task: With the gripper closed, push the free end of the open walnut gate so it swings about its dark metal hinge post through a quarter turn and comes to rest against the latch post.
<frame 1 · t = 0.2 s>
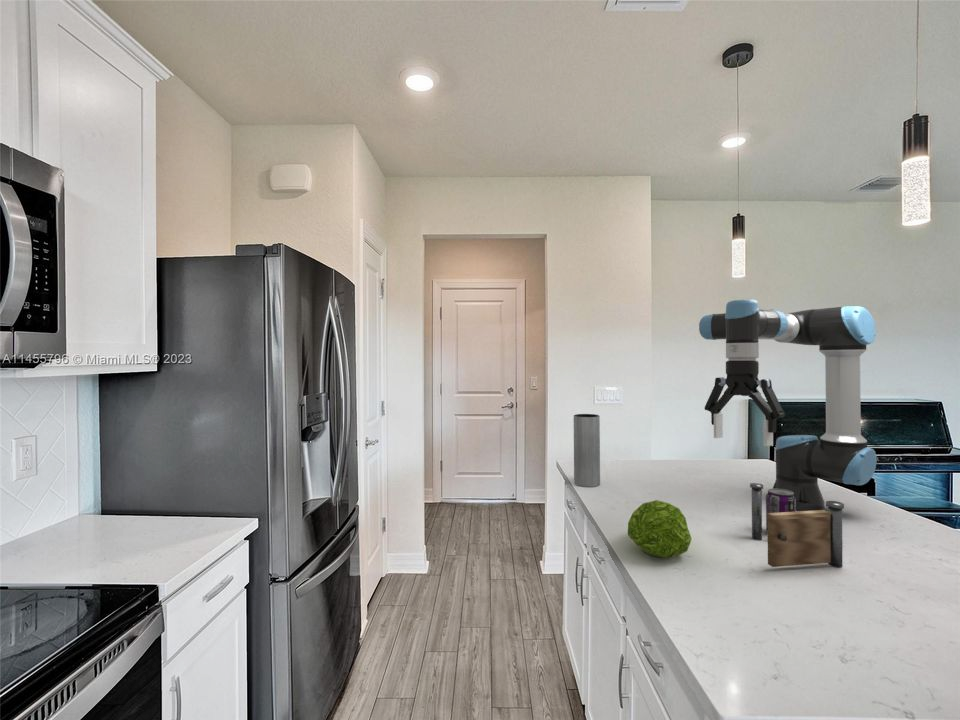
hand: (742, 441, 125), 28 cm above the worktop, fingers open, 13 cm apart
vase: (587, 484, 190), on the worktop
latch post: (756, 538, 132), on the worktop
gate: (800, 538, 113), point 7 cm above the worktop, hinge at 70.0°
keeper: (775, 541, 130), on the worktop
lettuce: (661, 547, 127), on the worktop
beverage can: (780, 534, 135), on the worktop
hinge post: (835, 564, 115), on the worktop
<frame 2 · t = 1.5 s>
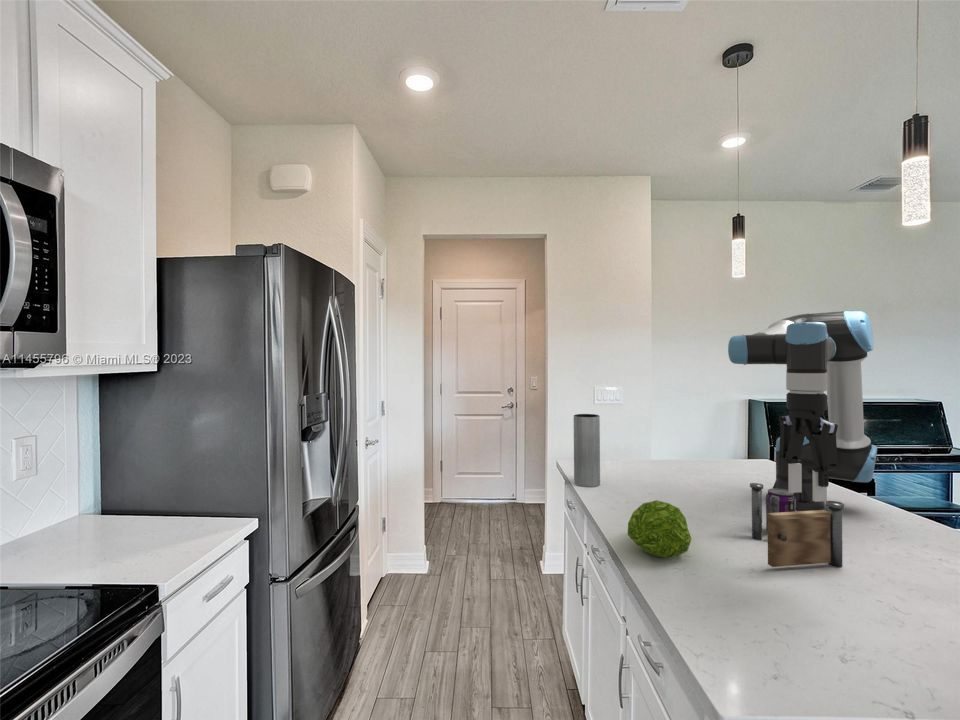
hand: (807, 496, 107), 19 cm above the worktop, fingers open, 6 cm apart
nothing on the worktop moved.
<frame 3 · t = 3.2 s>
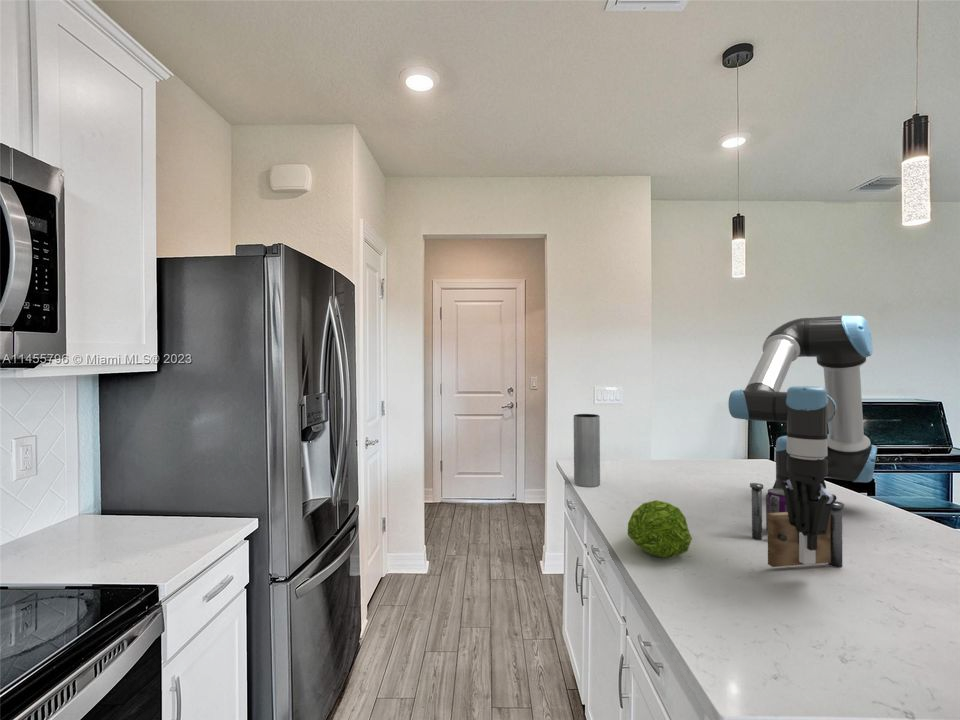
hand: (807, 562, 107), 4 cm above the worktop, fingers closed
nothing on the worktop moved.
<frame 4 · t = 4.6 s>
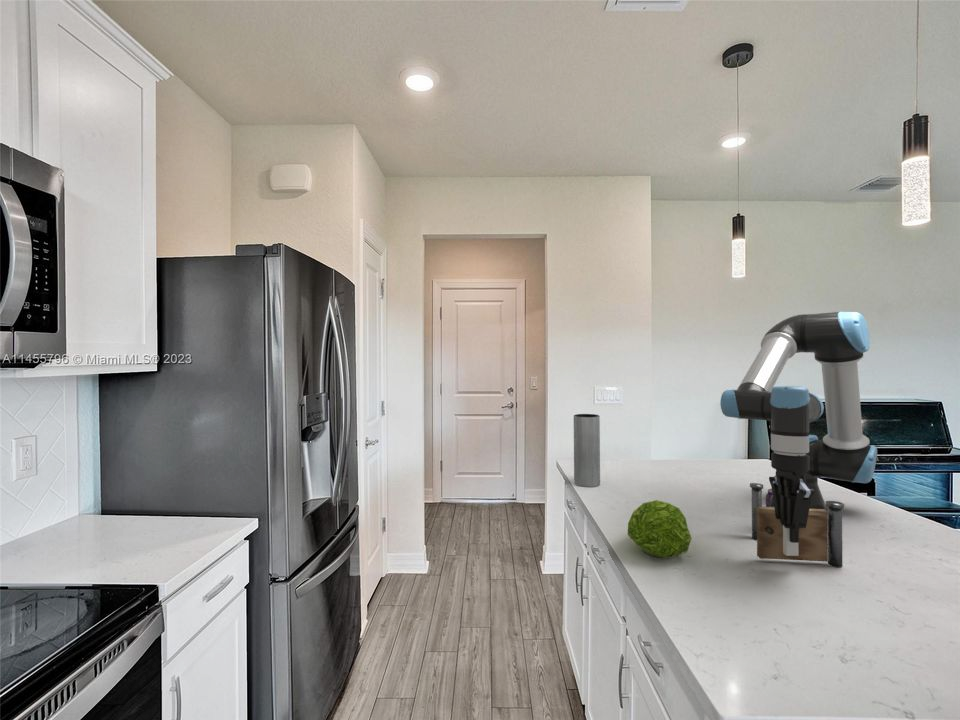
hand: (790, 554, 112), 4 cm above the worktop, fingers closed
gate: (792, 534, 116), point 7 cm above the worktop, hinge at 53.5°, touching hand
everything else where it was.
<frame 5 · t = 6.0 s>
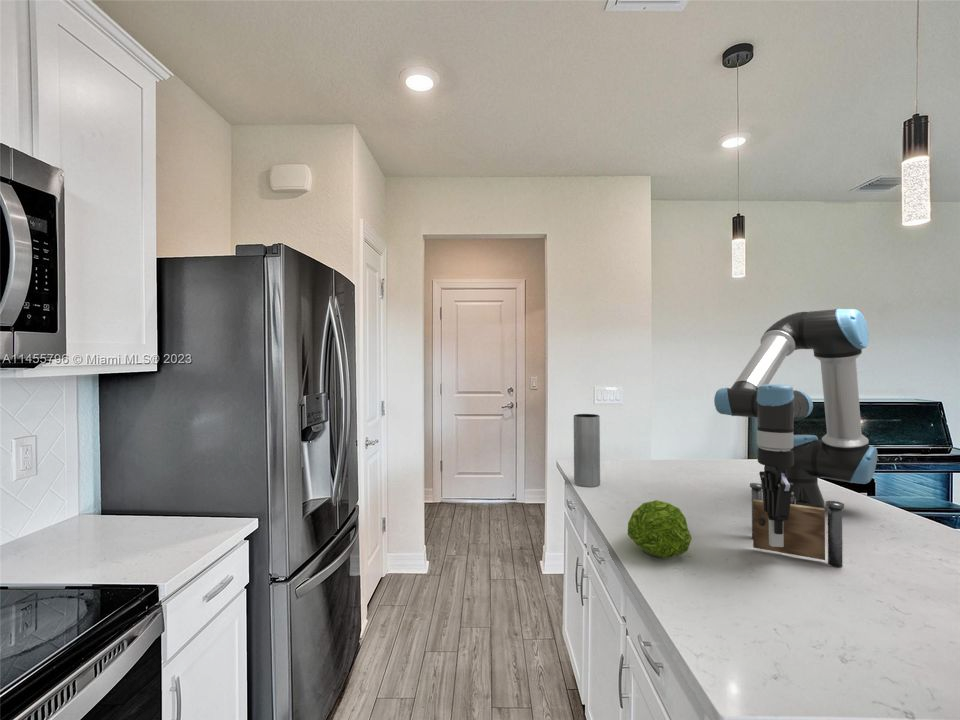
hand: (776, 545, 117), 4 cm above the worktop, fingers closed
gate: (787, 529, 120), point 7 cm above the worktop, hinge at 30.5°, touching hand
everything else where it was.
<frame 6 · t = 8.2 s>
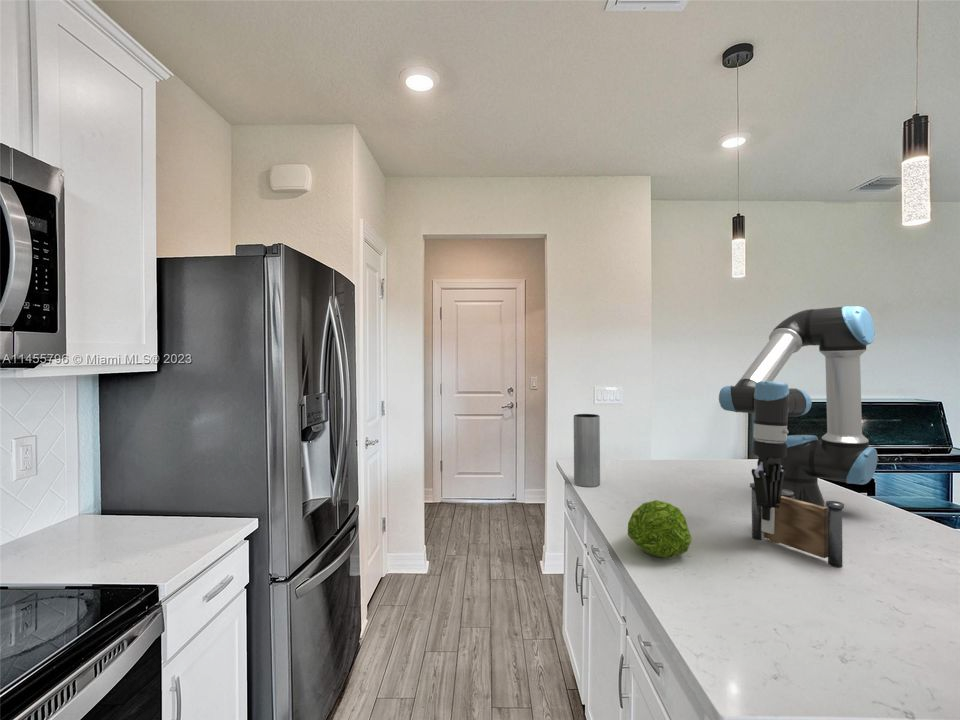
hand: (767, 532, 125), 4 cm above the worktop, fingers closed
gate: (792, 523, 123), point 7 cm above the worktop, hinge at -1.8°, touching hand
everything else where it was.
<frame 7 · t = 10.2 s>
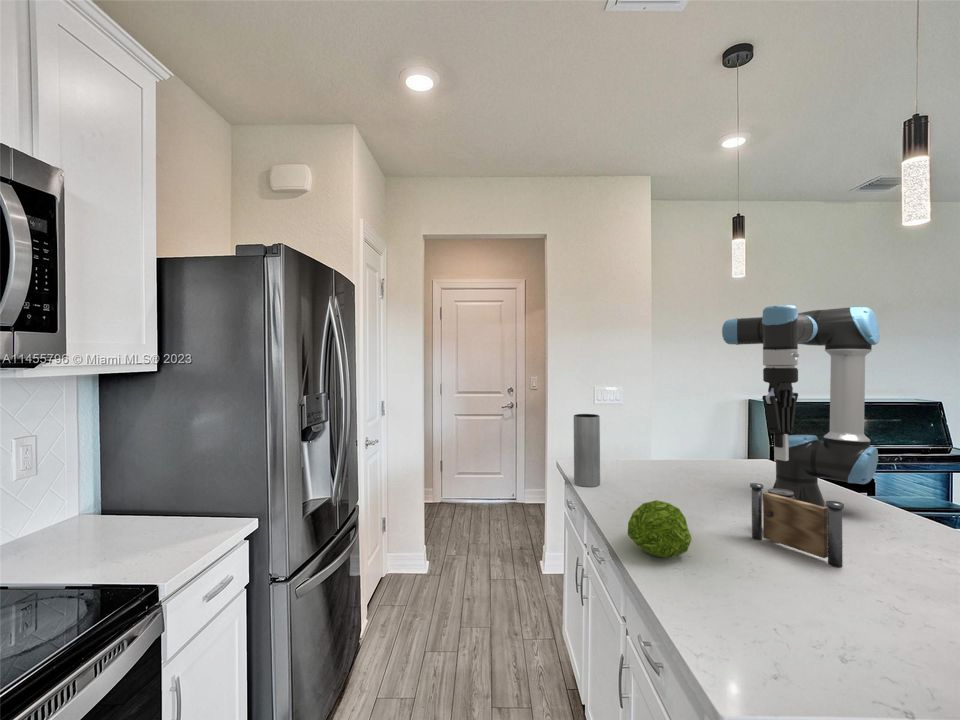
hand: (781, 459, 122), 24 cm above the worktop, fingers closed
gate: (792, 523, 123), point 7 cm above the worktop, hinge at -0.7°
everything else where it was.
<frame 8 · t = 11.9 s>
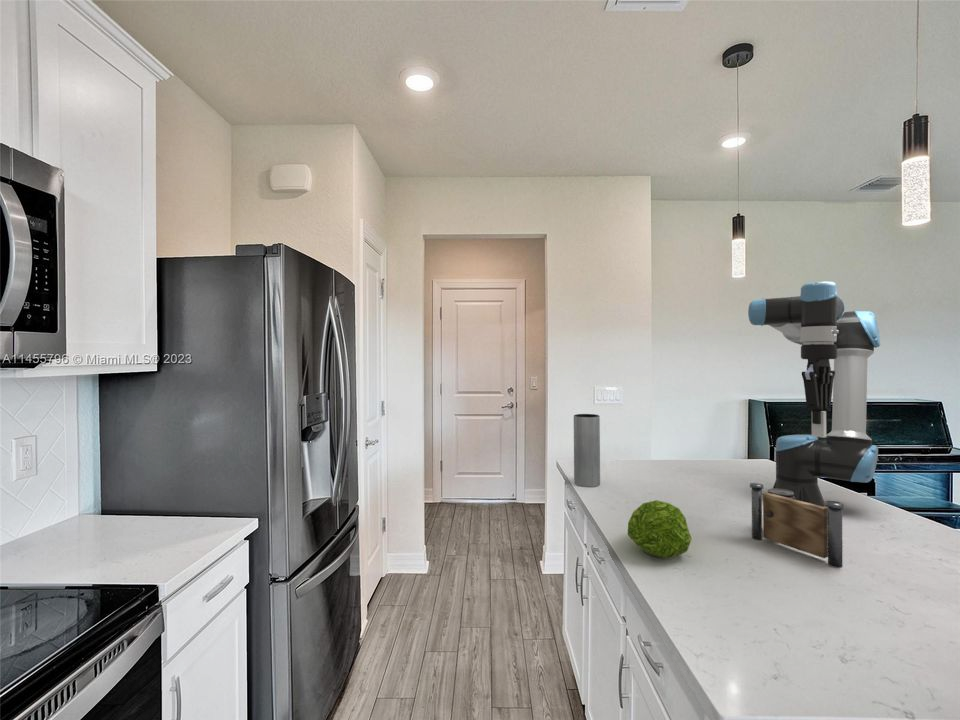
hand: (818, 436, 122), 29 cm above the worktop, fingers closed
nothing on the worktop moved.
at the end: gate at -1° (first picture: +70°) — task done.
